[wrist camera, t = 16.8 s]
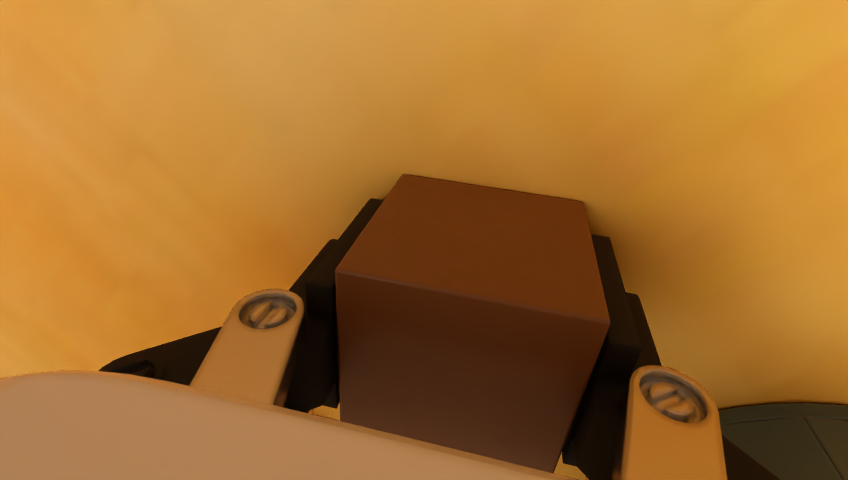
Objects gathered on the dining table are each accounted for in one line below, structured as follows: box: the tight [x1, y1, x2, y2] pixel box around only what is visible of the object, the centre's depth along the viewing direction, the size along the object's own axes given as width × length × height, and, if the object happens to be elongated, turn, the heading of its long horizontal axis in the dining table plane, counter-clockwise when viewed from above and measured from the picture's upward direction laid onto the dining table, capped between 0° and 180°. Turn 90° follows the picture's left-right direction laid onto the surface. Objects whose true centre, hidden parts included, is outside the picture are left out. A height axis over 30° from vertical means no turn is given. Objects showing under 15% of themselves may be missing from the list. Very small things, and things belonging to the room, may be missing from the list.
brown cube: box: [335, 174, 610, 473], centre depth 10 cm, size 4×4×4 cm
